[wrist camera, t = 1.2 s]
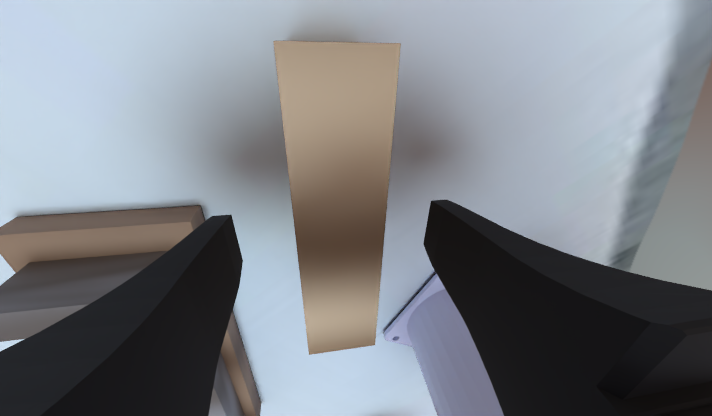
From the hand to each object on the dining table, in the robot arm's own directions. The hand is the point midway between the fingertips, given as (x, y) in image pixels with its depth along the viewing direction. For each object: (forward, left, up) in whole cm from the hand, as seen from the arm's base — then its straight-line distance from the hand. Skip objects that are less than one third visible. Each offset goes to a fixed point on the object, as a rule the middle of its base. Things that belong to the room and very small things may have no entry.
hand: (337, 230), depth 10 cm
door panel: (0, 0, -5) cm, 5 cm away
